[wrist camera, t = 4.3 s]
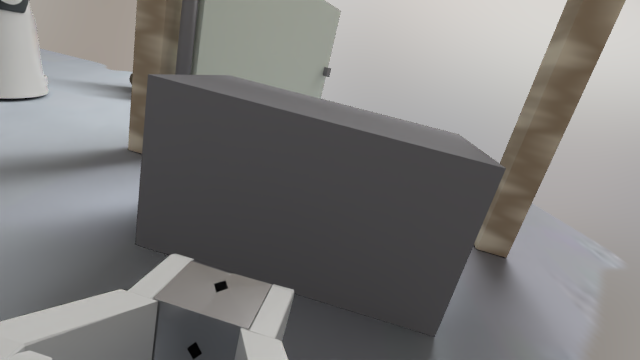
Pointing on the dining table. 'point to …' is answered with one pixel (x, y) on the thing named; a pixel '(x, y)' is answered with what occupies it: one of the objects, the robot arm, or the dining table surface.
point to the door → (259, 41)
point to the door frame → (529, 133)
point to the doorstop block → (311, 195)
